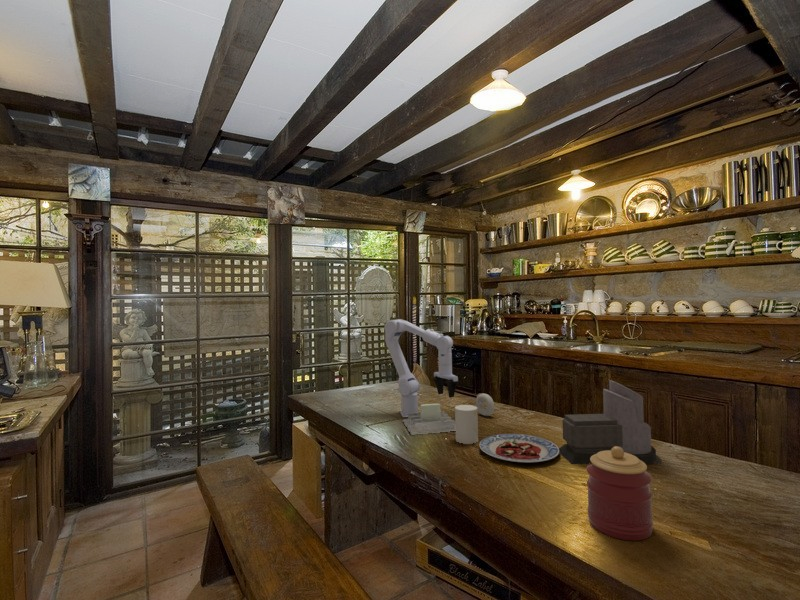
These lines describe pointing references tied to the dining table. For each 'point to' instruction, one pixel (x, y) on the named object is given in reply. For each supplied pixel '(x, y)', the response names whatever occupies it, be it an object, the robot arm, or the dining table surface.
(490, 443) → the ceramic plate
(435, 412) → the grey rectangular block
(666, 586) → the dining table surface
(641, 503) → the canister
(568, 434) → the grey napkin holder
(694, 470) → the dining table surface
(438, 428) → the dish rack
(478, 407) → the donut
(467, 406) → the white cylinder
